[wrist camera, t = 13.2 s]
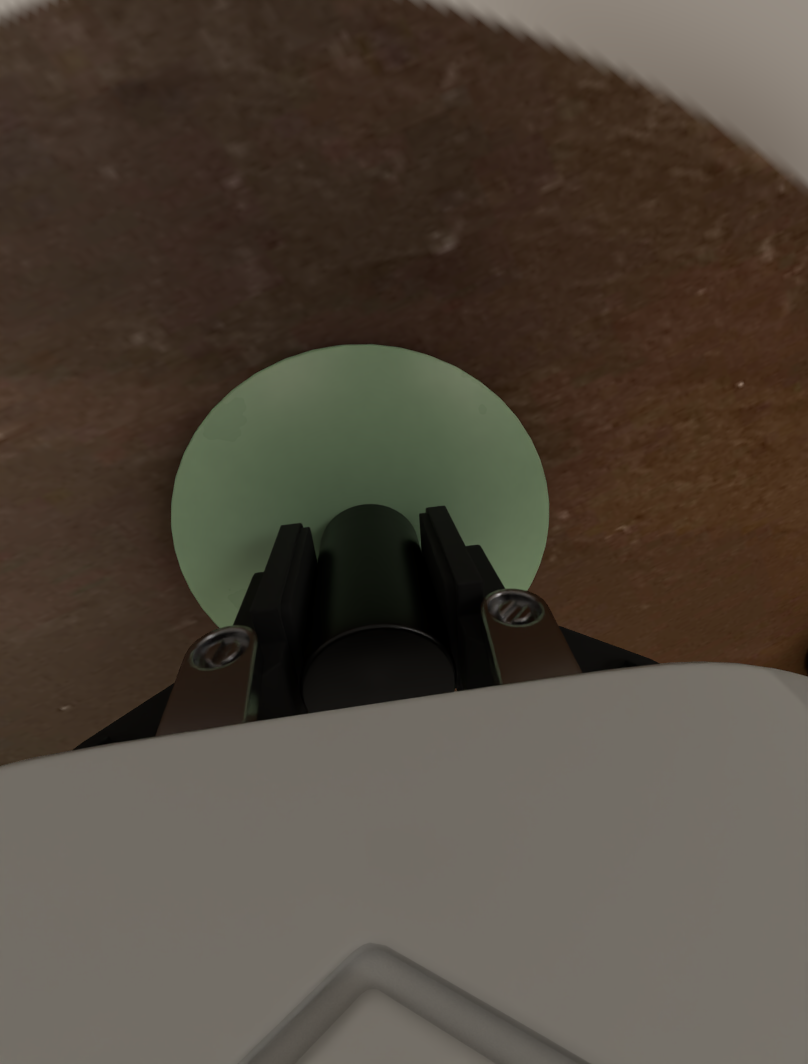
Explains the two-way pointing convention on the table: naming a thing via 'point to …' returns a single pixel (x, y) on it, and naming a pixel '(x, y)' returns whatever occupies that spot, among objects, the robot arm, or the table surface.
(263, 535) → the tin lid
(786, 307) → the table surface
